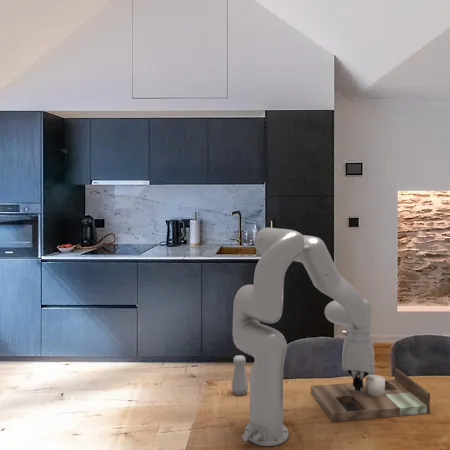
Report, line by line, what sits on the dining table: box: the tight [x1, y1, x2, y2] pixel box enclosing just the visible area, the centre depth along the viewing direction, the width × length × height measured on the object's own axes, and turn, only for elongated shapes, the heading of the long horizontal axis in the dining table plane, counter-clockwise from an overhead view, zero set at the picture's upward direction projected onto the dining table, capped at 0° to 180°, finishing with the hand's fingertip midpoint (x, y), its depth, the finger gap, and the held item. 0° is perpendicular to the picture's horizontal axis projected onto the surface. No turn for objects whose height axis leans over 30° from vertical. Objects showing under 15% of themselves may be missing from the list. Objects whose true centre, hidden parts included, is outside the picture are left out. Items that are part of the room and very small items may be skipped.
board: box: [310, 368, 431, 422], centre depth 152 cm, size 32×20×6 cm, turn 98°
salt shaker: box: [231, 354, 249, 396], centre depth 160 cm, size 6×6×13 cm
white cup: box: [365, 374, 386, 397], centre depth 154 cm, size 6×6×5 cm
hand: (357, 389), depth 155 cm, fingers closed
